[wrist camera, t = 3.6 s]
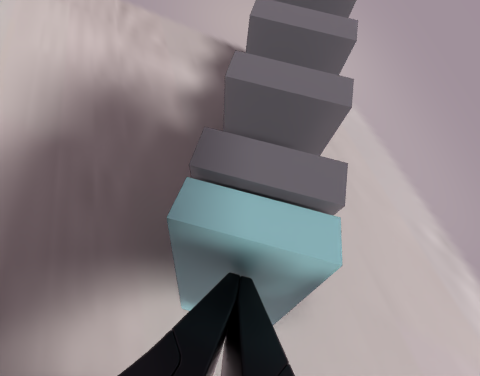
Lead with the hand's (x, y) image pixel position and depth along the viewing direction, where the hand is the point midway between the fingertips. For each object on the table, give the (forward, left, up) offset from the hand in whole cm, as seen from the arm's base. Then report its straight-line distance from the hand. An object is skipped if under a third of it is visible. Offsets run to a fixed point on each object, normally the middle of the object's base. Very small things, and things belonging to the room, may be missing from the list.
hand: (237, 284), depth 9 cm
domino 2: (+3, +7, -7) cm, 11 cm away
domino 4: (0, -1, -7) cm, 7 cm away
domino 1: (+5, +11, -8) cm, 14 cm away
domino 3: (+1, +3, -7) cm, 8 cm away
